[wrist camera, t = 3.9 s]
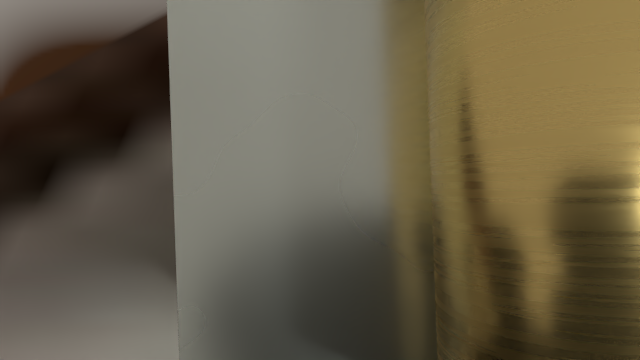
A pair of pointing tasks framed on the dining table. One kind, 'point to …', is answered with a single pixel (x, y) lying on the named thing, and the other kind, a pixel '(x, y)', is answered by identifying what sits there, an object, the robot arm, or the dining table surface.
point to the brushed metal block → (406, 179)
